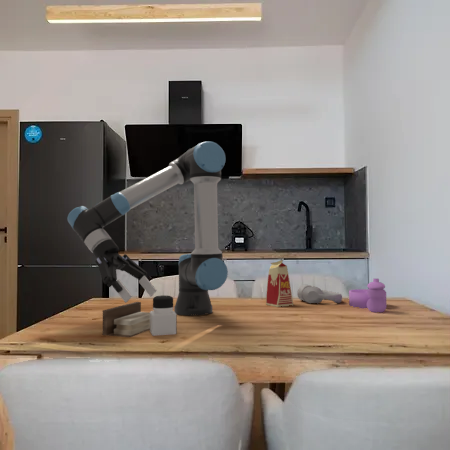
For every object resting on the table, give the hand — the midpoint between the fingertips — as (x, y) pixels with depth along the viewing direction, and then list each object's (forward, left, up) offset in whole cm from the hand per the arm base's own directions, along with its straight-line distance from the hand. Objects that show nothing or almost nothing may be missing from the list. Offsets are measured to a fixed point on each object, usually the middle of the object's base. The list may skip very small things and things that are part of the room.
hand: (142, 296), depth 124 cm
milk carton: (-7, +75, -12) cm, 76 cm away
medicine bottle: (+6, +4, -12) cm, 14 cm away
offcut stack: (-3, 0, -10) cm, 11 cm away
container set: (+25, +96, -12) cm, 100 cm away
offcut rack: (-4, -1, -12) cm, 12 cm away
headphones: (+1, +96, -12) cm, 96 cm away
